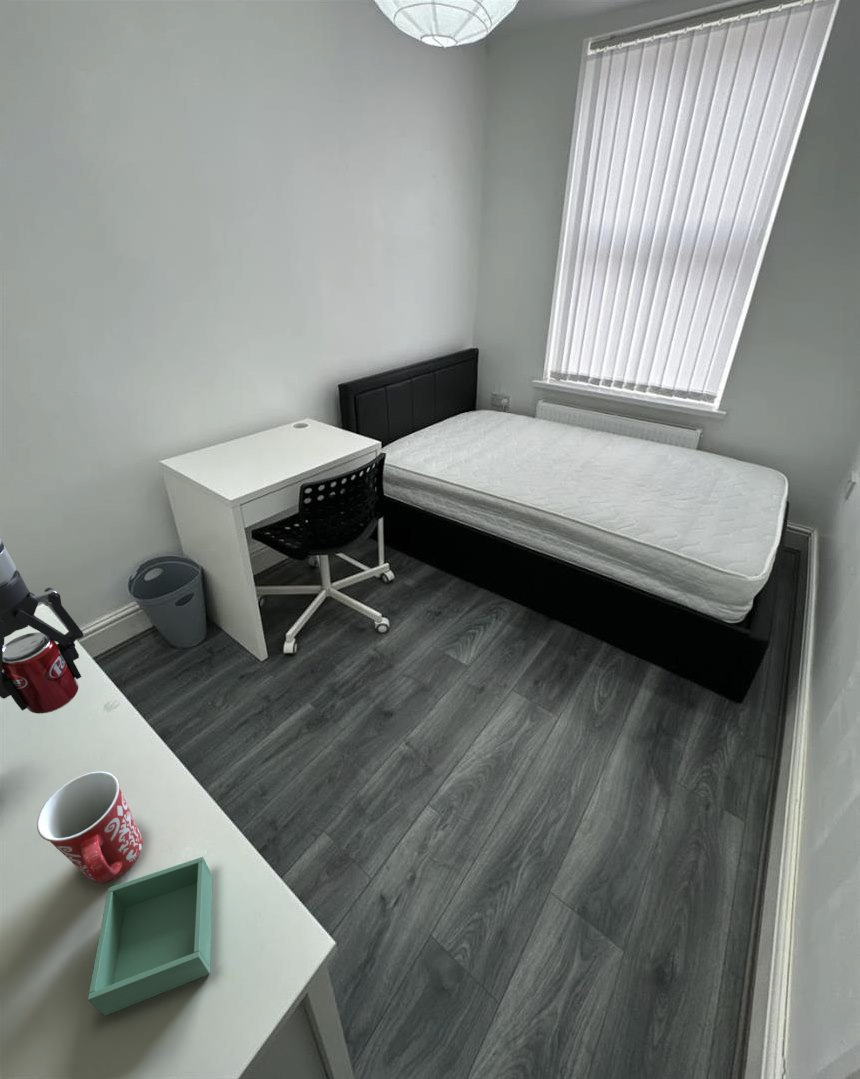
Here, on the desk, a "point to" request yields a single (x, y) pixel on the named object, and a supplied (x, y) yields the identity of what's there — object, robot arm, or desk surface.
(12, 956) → the desk surface
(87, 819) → the mug
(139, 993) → the teal square tray
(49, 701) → the soda can
